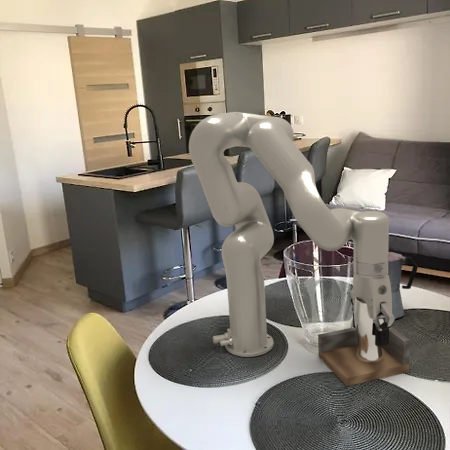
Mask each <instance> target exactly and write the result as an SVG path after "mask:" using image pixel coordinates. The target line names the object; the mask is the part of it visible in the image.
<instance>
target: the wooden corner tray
mask: <svg viewBox="0 0 450 450" xmlns="http://www.w3.org/2000/svg"><path fill="white" fill-rule="evenodd" d="M317 342H318V343H317V345H318V346H317V348H318V349H317V350H318V353H317V355H318V357H319V359H320V360H321V361H322V362H323V363H324V364H325V365H326V366H327V367H328V368H329V370H330V371H331V372H332V373H333V374H334V375H335V376H336V377H337V378H338V379H339V381H341V382H342V384H344V385H345V387H349V386H353V385H358V384H361V383H362V384H363V383H366V382H367V383H368V382H371V381H375V380H379V379H384V378H388V377H392V376H396V375H400V374H405V373H410V358H411V353H410V352H411V339H410V338H408V337H406V336H405V335H404V334H403V333H401V332H399V330H397V329H395V328H394V327H393V326H392V327H391V329H389V344H387V345H383V346H381V349H382V354H383V359H382V360H381V361H380V362H378V363H365V362H362V361H360V360H358V359H357V357H356V352H357V348H358V338H357V332H356V328H354V327H353V326H352V327H349V328H345V329H339V330H335V331H334V330H333V331H330V332H329V331H328V332H324V333H320V334H319V333H318V334H317Z"/></svg>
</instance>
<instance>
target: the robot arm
mask: <svg viewBox="0 0 450 450" xmlns="http://www.w3.org/2000/svg"><path fill="white" fill-rule="evenodd" d="M294 133H295V132H294V129H293V126H292V125H291V123H290V122H288V121H287V120H286V119H284V118H282V117H279V116H272V115H271V116H270V115H262V114H254V113H250V112H249V113H248V112H239V111H230V112H224V113H217V114H216V113H215V114H212V115H209V116H207V117H205V118H204V119H202V120H201V121H199V122H198V124H196V125H195V127H194V128H193V130H192V132H191V134H190V136H189V141H188V154H189V157H190V160H191V162H192V166H193V167H194V169H195V172H196V174H197V176H198V179H199V182H200V184H201V188H202V190H203V193H204V196H205V198H206V201H207V204H208V207H209V209H210V212H211V215H212V217H213V219H214V220H215V222H216V223H217V224H218V225H220V226H222V227H226V228H229V227H230V228H231V227H234V226H235V227H236V229H235V230H234V231H232V232H231V233H230V234H228V236H227V237H226V238H225V240H223V243H222V246H221V259H222V263H223V266H224V271H225V276H226V289H227V301H228V316H229V317H228V319H229V328H226V330H227V331H226V332H224V333H223V334H220V335H219V334H218V335H213V336H212V342H213V344H220V346H221V347H224V346H225V349H226V350H227V352H229V354H230V353H231V354H232V355H234V356H237V357H245V358H252V357H259V356H261V355H265V354H267V353H268V352H270V351H271V350H272V349H273V347H274V339H273V337H272V336H271V335H269V334H268V329H267V328H268V326H267V310H266V308H267V307H266V305H267V304H266V291H265V290H266V288H265V278H264V271H263V269H262V265H261V259H262V258H263V257H264V256H265V255H267V253H268V252H269V251H270V250H271V249H272V247H273V245H274V243H275V241H274V240H275V238H274V237H275V236H274V231H273V227H272V224H271V222H270V219H269V216H268V214H267V211H266V208H265V205H264V204H263V200H262V198H261V195H260V194H259V192H258V190H257V189H256V188H255V187H254V186H253V185H251V184H249V183H248V182H244V181H243V182H242V181H239V182H238V180H237V179H236V175H235V172H234V170H233V167H232V165H231V164H230V162H229V161H228V159H227V158H226V157H225V154H224V152H225V150H227V149H231V148H234V147H244V148H250V150H251V151H252V153H253V154H254V156H256V158H257V159H258V160H259V161H260V163H261V164H262V165H263V167H265V169H266V170H267V171H268V173H269V174H270V175H271V177H272V178H273V179H274V181H276V183H277V184H278V185H279V186H280V188H281V189H282V191H283V194H284V196H285V200H286V201H287V203H288V206H289V209H290V210H291V213H292V215H293V217H294V219H295V220H296V221H297V224H299V226H300V228H302V230H303V231H304V232H305V233H306V235H307V236H308V237H309V239H310V240H311V241H312V242H313V243H314V244H315V245H316V246H317V247H318V248H320V249H322V250H324V251H327V252H335V251H338V250H340V249H342V247H344V246H345V245H346V244H347V242H348V241H350V240H351V241H352V242H353V276H352V288H351V289H349V290H348V293H349V297H350V304H351V305H352V306H351V311H352V328H353V327H354V328H356V327H355V321H354V307H355V297H357V300H358V301H360V302H363V303H366V304H367V309H368V314H369V317H370V318H371V319H373V320H374V322H375V324H376V327H377V329H376V330H375V345H376V346H377V347H378V346H383V345H387V344H389V329H391V327H393V323H394V322H395V320H396V319H395V317H394V315H393V314H392V294H391V284H390V279H389V276H388V252H389V242H390V241H389V240H390V239H389V237H390V235H389V233H390V229H389V228H390V221H389V216H388V215H387V214H386V213H384V212H381V211H375V210H374V211H373V210H366V211H361V210H360V211H358V210H355V209H354V210H353V209H349V208H342V207H337V208H332V209H330V208H329V207H328V206H327V205H326V204H325V202H324V201H323V199H322V197H321V195H320V193H319V191H318V189H317V184H316V177H315V170H314V167H313V165H312V164H311V162H310V161H309V160H308V158H306V156H305V155H304V154H303V153H302V152H301V150H300V149H299V148H298V147H297V145H296V144H295V143H294V138H295V134H294ZM379 313H382V315H381V316H377V315H378V314H379ZM380 319H383V321H384V322H383V323H382V324H380V322H379V320H380Z"/></svg>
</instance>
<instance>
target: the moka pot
mask: <svg viewBox="0 0 450 450" xmlns="http://www.w3.org/2000/svg"><path fill="white" fill-rule="evenodd" d="M409 264H410V265H411V266H412V268H411V273H409V274H410V275H409V278H408V282H407V284H406V285H403V284H402V285H401V281H402V280H401V279H402V277H401V276H402V269H403V268H402V267H403V265H409ZM417 271H418V264H417V263H416V261H414V259H413V258H412V256H403V255H402V254H401V253H397V252H393V251H388V276H389V279H390V284H391V294H392V314H393V315H394V317H395V319H394V320H396V319H400V318H402V317H403V316H404V315H405V312H404V307H403V299H402V293H401V288H402V289H404V290H410V289H411V288H412V285H413V282H414V279H415V276H416V274H417Z"/></svg>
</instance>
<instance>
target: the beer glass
mask: <svg viewBox="0 0 450 450" xmlns="http://www.w3.org/2000/svg"><path fill="white" fill-rule="evenodd" d="M381 315H382V313H379V314H378V315H377V316H381ZM354 321H355V327H356V332H357V338H358V348H357V352H356V357H357V359H358V360H360V361H362V362H365V363H378V362H380V361H381V360H382V359H383V354H382V349H381V346H378V347H377V346H376V345H375V330H376V329H377V327H376V324H375V322H374V320H373V319H371V318H370V317H369V314H368V309H367V304H366V303H363V302H360V301H358V300H357V297H355V307H354ZM379 322H380V324H382V323H383V322H384V321H383V319H380V320H379Z"/></svg>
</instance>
